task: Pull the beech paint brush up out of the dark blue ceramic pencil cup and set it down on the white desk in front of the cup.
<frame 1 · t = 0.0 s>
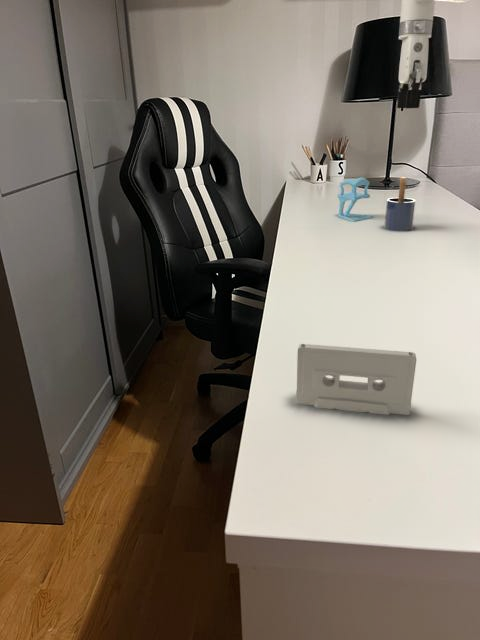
hand: (407, 108, 127), 30 cm above the table, tool pointing down, fingers open, 9 cm apart
pencil cup: (397, 230, 131), on the table
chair: (351, 220, 146), on the table
cassette: (351, 414, 54), on the table
brush: (398, 228, 131), point 1 cm above the table, touching pencil cup
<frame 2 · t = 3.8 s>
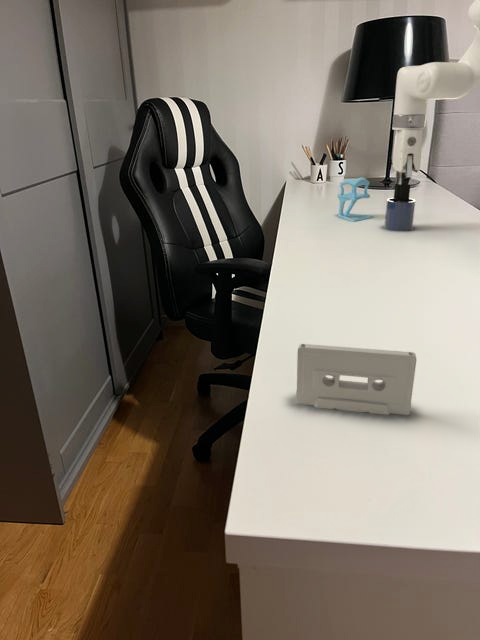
hand: (401, 199, 128), 8 cm above the table, tool pointing down, fingers closed on brush, 1 cm apart
brush: (398, 228, 131), point 1 cm above the table, touching gripper, pencil cup
everything else where it was.
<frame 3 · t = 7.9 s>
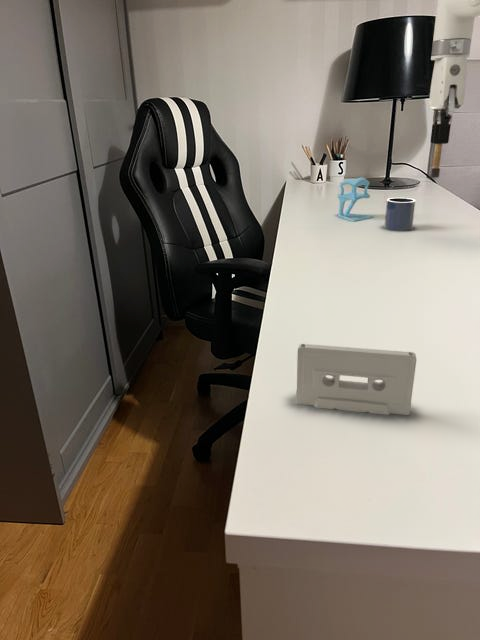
hand: (439, 142, 113), 22 cm above the table, tool pointing down, fingers closed on brush, 1 cm apart
brush: (434, 177, 116), point 15 cm above the table, touching gripper
everything else where it was.
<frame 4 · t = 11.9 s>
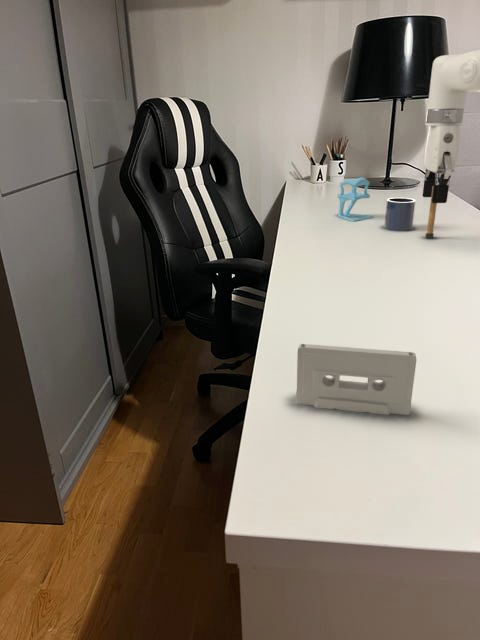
hand: (434, 199, 117), 10 cm above the table, tool pointing down, fingers open, 7 cm apart
brush: (428, 241, 121), on the table
everything else where it was.
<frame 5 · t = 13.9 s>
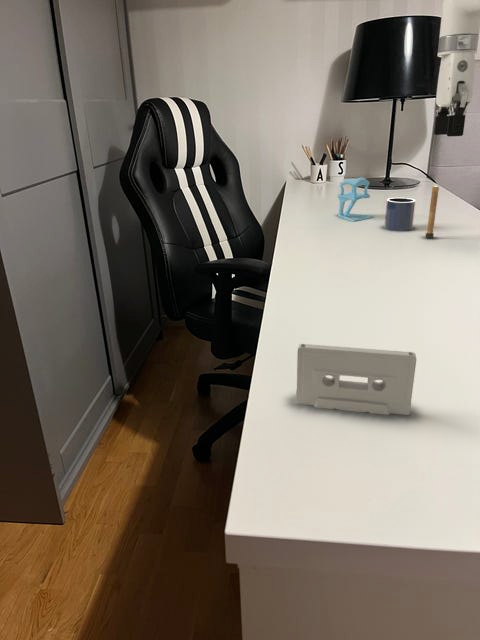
hand: (447, 135, 110), 24 cm above the table, tool pointing down, fingers open, 9 cm apart
nothing on the table moved.
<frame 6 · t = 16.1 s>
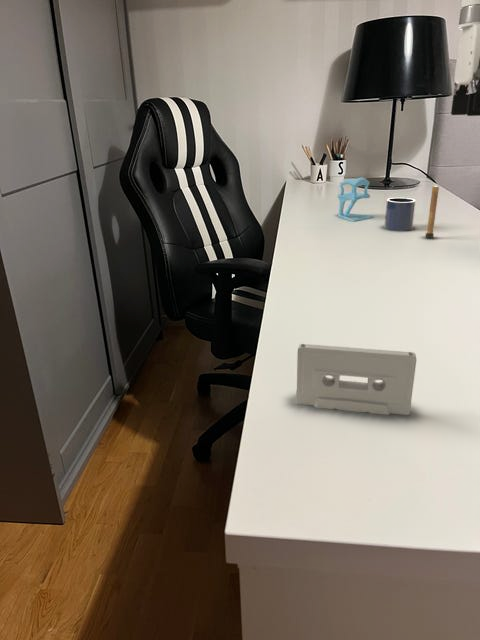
hand: (466, 115, 102), 28 cm above the table, tool pointing down, fingers open, 9 cm apart
nothing on the table moved.
at the end: brush inside the target area (0.0 cm from its centre), on the table; the gripper is holding nothing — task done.
